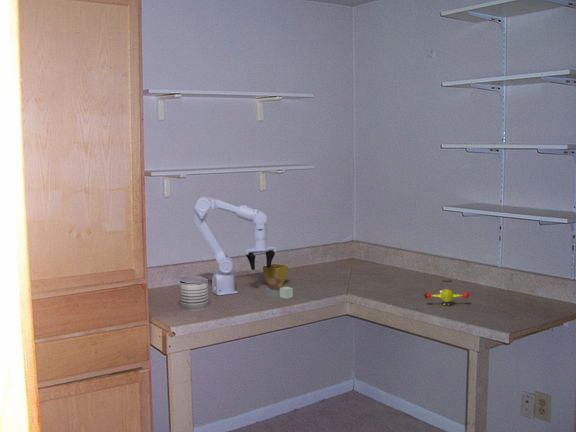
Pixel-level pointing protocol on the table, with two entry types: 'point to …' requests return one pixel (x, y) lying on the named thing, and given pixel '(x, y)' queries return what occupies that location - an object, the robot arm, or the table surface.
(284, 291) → the sage cube
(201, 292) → the can
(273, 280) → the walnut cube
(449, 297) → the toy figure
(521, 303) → the table surface
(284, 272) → the flower pot
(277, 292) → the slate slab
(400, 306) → the table surface
